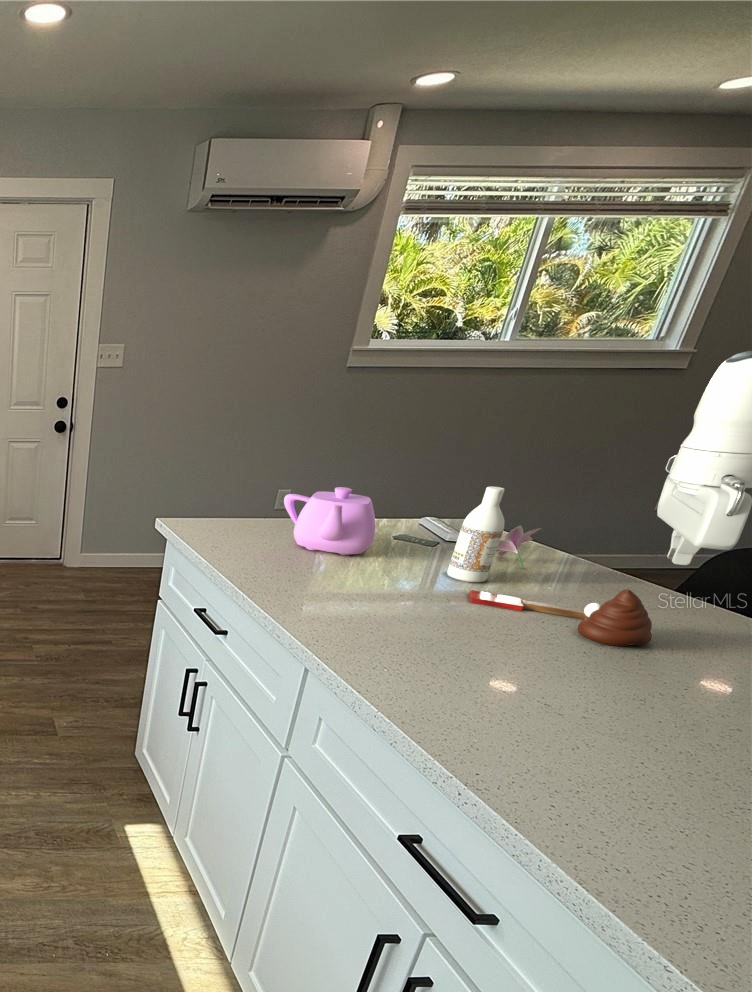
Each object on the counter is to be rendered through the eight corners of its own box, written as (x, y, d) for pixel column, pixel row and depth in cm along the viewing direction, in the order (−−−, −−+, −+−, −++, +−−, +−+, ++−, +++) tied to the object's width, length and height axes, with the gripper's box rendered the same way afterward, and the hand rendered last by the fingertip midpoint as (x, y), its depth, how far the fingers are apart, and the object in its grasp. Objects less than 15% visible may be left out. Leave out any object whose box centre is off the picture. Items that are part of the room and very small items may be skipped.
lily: (534, 564, 149) (523, 525, 150) (564, 560, 138) (552, 518, 139) (474, 576, 153) (464, 537, 154) (499, 573, 142) (488, 532, 143)
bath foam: (468, 584, 135) (499, 492, 128) (438, 573, 142) (466, 485, 134) (493, 581, 137) (526, 490, 129) (463, 570, 143) (492, 483, 135)
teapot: (281, 531, 172) (292, 476, 166) (372, 544, 161) (387, 486, 155) (265, 554, 155) (277, 493, 149) (365, 570, 144) (382, 505, 138)
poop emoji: (607, 649, 108) (629, 599, 104) (560, 628, 116) (580, 580, 112) (663, 648, 108) (687, 598, 104) (613, 626, 116) (634, 579, 112)
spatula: (614, 618, 119) (617, 612, 119) (621, 628, 115) (623, 622, 115) (468, 594, 131) (470, 588, 130) (470, 602, 127) (472, 596, 126)
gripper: (783, 486, 80) (734, 587, 85) (724, 460, 96) (686, 547, 101) (711, 481, 83) (667, 579, 89) (665, 457, 99) (631, 541, 104)
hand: (677, 562), depth 95 cm, fingers closed
